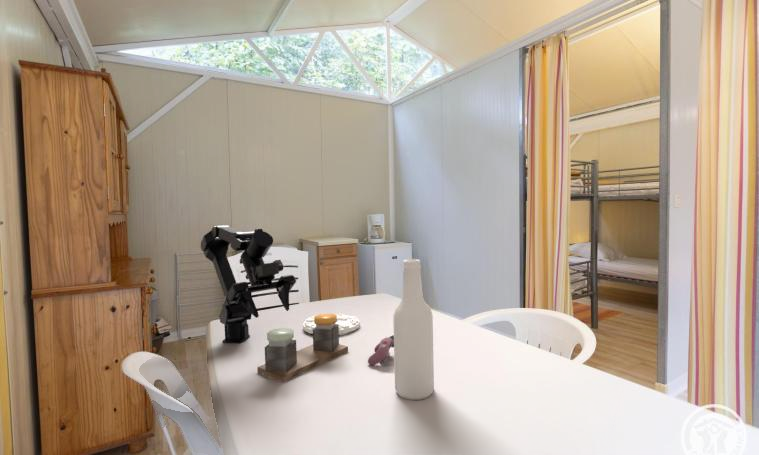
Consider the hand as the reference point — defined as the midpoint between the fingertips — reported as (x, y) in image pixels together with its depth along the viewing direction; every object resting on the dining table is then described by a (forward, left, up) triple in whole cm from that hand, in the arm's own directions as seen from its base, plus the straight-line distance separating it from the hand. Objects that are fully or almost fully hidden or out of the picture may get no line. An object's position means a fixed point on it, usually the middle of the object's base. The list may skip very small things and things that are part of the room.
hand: (273, 313), depth 106 cm
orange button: (+13, +8, -10) cm, 18 cm away
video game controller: (+29, +4, -14) cm, 33 cm away
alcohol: (+40, -14, -14) cm, 44 cm away
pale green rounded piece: (+5, -7, -10) cm, 13 cm away
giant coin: (+8, +31, -14) cm, 35 cm away
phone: (+34, +21, -14) cm, 42 cm away
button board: (+9, 0, -13) cm, 16 cm away
